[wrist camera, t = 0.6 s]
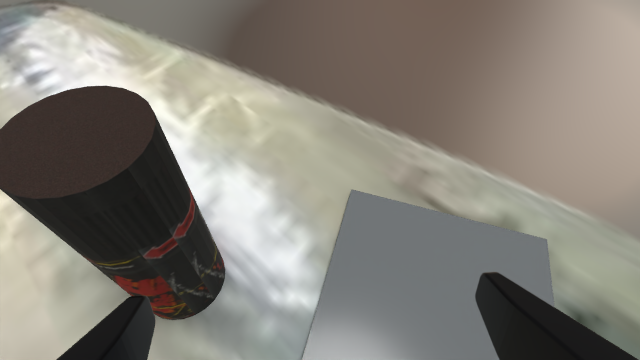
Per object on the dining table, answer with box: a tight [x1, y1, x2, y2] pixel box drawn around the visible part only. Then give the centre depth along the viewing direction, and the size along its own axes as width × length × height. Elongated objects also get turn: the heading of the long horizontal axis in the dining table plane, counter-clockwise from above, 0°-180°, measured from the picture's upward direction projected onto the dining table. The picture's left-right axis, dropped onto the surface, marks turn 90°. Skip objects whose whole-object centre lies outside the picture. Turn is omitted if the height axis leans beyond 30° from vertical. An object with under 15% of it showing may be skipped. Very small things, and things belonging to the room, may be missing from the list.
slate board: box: [302, 190, 554, 360], centre depth 24 cm, size 16×16×1 cm
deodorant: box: [0, 86, 225, 320], centre depth 20 cm, size 6×6×15 cm
